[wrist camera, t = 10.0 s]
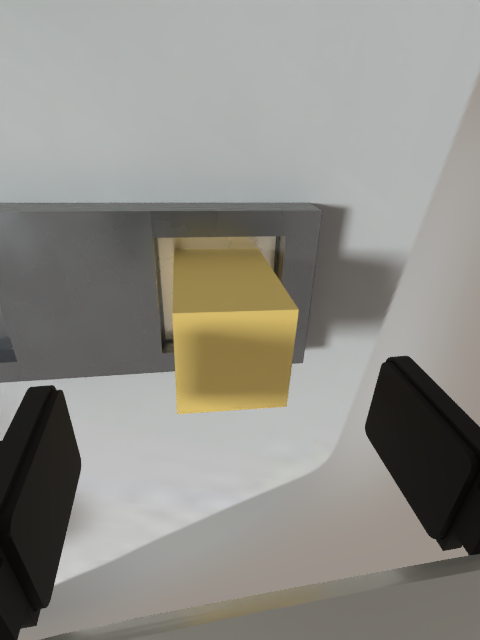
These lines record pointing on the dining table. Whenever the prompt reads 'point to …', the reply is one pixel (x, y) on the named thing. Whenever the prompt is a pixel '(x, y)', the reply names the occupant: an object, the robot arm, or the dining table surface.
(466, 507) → the robot arm
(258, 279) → the yellow block
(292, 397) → the dining table surface
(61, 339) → the gray recessed board
